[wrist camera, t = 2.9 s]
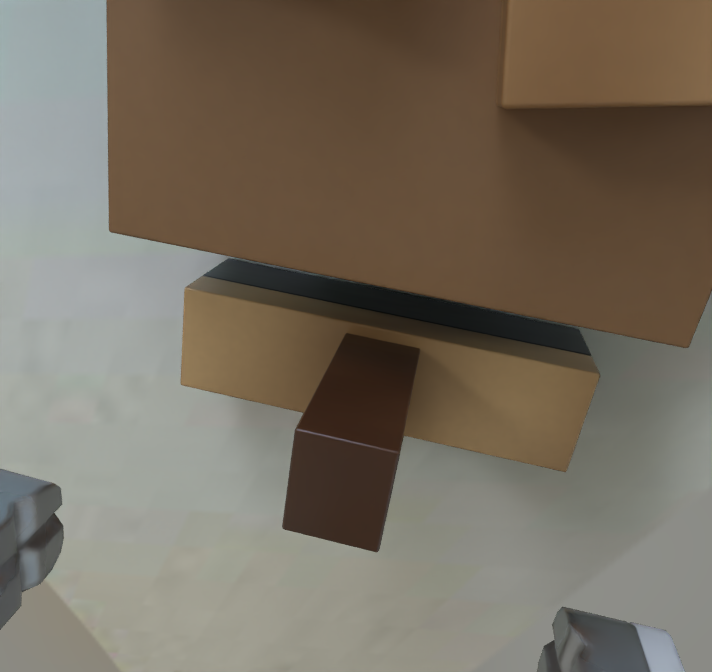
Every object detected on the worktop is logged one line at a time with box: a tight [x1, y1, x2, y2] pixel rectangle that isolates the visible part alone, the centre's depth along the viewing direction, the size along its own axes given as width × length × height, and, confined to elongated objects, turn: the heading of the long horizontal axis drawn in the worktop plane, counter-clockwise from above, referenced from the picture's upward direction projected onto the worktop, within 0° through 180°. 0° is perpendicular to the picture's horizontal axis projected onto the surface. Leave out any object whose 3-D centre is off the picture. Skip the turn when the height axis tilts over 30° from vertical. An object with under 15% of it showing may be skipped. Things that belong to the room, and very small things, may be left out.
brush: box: [181, 259, 600, 552], centre depth 15 cm, size 11×3×8 cm, turn 81°
